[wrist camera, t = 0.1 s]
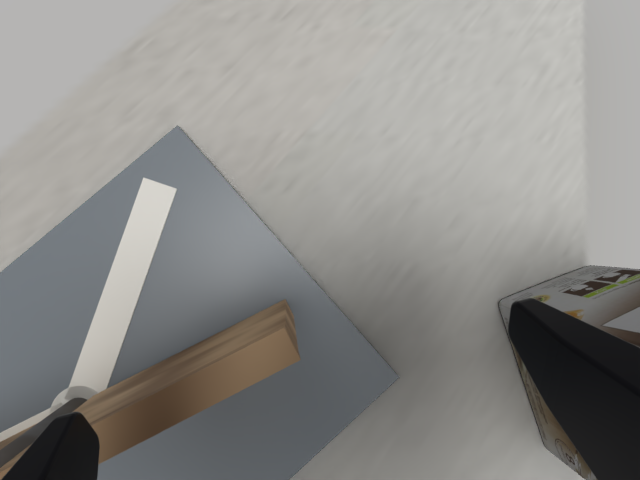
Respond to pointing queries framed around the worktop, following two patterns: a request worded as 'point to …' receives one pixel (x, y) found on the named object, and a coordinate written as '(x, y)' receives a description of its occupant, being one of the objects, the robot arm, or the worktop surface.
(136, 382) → the fence panel
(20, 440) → the fence fixed
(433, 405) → the worktop surface
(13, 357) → the mat
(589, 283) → the coffee box
